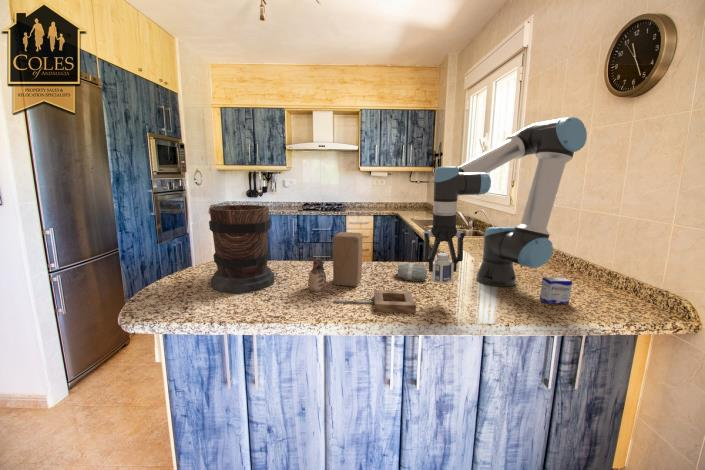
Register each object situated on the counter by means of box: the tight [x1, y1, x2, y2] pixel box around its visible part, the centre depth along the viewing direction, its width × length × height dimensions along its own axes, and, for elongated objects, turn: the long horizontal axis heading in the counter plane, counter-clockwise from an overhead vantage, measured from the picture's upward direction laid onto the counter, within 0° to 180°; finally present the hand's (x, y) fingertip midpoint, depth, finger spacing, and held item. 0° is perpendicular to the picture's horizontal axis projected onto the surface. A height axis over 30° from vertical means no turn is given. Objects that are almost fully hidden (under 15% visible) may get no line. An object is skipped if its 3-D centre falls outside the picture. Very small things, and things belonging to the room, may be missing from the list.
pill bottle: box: [434, 252, 451, 285], centre depth 112 cm, size 5×5×10 cm
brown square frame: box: [333, 289, 417, 314], centre depth 111 cm, size 27×13×2 cm, turn 87°
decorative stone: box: [397, 261, 428, 282], centre depth 139 cm, size 13×10×6 cm
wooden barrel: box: [208, 204, 275, 294], centre depth 130 cm, size 24×30×30 cm
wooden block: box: [332, 231, 363, 288], centre depth 130 cm, size 10×10×20 cm
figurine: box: [307, 257, 328, 293], centre depth 123 cm, size 7×7×12 cm
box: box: [539, 276, 573, 305], centre depth 114 cm, size 8×4×9 cm, turn 94°
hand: (441, 280), depth 113 cm, fingers closed on pill bottle, 5 cm apart
